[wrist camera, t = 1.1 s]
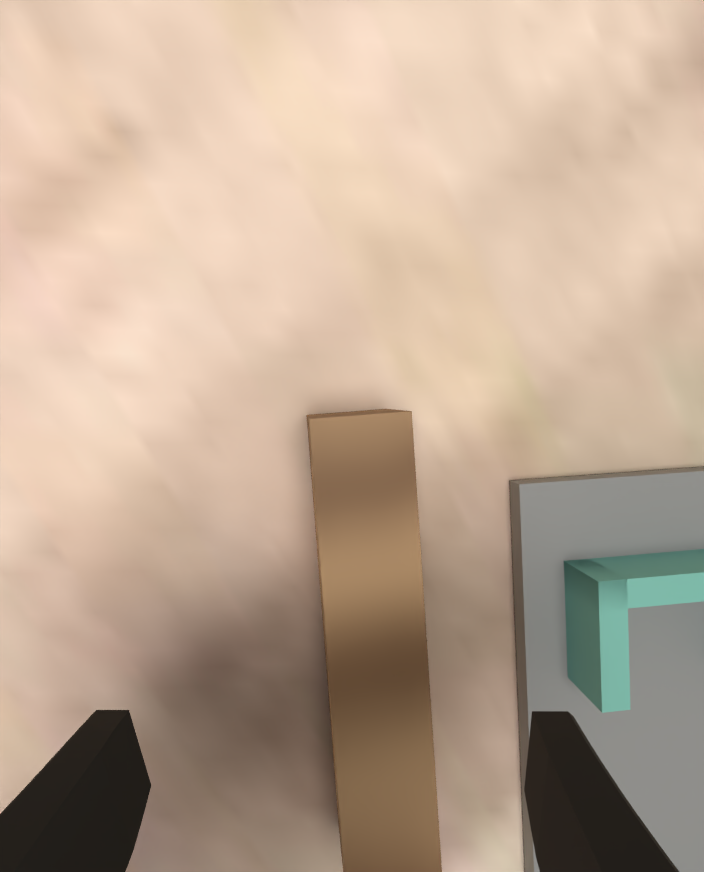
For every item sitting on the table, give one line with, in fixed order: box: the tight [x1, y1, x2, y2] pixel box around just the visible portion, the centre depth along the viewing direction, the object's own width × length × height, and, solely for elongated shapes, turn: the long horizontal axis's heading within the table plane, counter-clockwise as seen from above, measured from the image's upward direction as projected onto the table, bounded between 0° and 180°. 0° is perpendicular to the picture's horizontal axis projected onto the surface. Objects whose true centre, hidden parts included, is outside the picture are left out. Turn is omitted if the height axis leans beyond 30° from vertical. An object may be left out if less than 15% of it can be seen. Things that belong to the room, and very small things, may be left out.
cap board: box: [510, 467, 704, 872], centre depth 22 cm, size 26×10×4 cm, turn 3°
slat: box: [307, 409, 442, 872], centre depth 20 cm, size 16×3×5 cm, turn 4°
